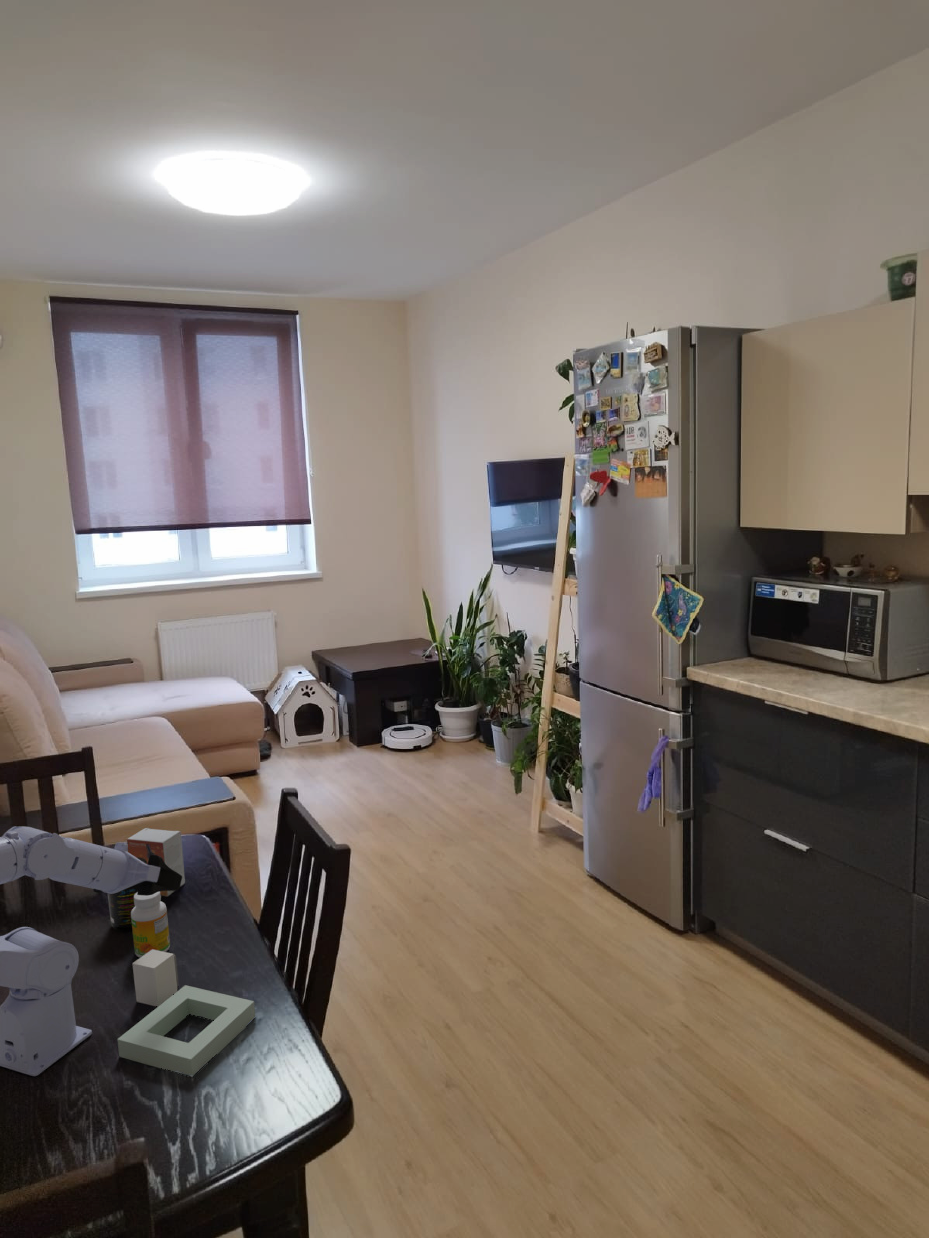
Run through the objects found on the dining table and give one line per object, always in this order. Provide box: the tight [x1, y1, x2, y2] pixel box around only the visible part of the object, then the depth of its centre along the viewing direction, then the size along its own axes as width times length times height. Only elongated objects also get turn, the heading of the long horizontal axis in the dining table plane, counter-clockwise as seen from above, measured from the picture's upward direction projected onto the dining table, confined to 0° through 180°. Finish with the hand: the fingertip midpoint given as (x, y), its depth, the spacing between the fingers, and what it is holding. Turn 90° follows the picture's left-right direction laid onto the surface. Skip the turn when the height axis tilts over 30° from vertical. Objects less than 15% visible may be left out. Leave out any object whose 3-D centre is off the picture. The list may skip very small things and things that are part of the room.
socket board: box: [116, 984, 256, 1075], centre depth 117 cm, size 13×12×2 cm
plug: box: [132, 949, 180, 1008], centre depth 127 cm, size 5×4×6 cm
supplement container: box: [107, 857, 147, 932], centre depth 148 cm, size 7×7×10 cm
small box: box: [126, 827, 186, 897], centre depth 161 cm, size 8×6×10 cm
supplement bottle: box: [131, 892, 171, 958], centre depth 139 cm, size 5×5×10 cm
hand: (160, 881), depth 131 cm, fingers open, 7 cm apart
